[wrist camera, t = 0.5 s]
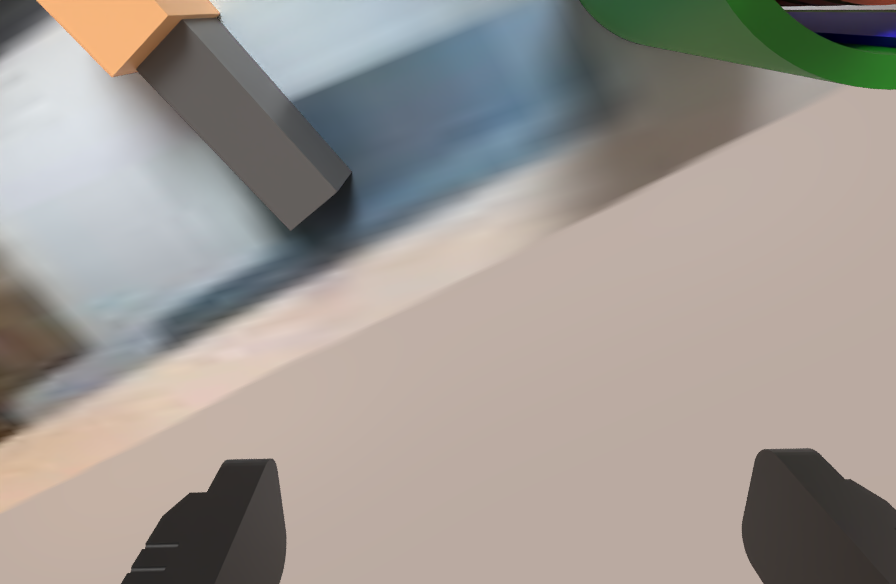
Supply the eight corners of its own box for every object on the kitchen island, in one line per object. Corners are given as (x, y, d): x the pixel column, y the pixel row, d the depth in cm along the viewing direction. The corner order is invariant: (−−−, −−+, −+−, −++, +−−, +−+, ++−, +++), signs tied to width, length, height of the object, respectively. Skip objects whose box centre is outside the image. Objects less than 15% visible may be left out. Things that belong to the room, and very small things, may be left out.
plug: (355, 168, 29) (334, 198, 25) (306, 210, 30) (277, 245, 26) (131, -89, 25) (56, -109, 20) (83, -29, 26) (1, -36, 22)
